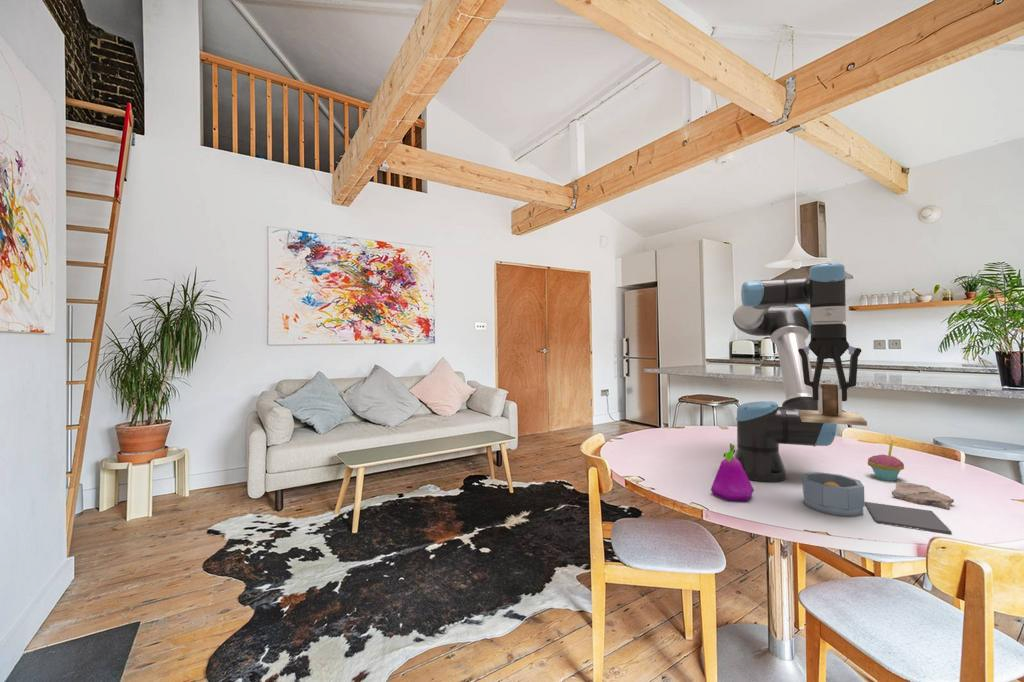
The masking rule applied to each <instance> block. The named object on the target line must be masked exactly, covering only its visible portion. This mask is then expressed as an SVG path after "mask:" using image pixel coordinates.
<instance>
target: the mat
mask: <svg viewBox="0 0 1024 682" xmlns="http://www.w3.org/2000/svg"><path fill="white" fill-rule="evenodd" d="M864 503H865V508H866V509H867V510H869V511H868V512H869V514H870V516H871V515H872V516H871V517H872V519H873V521H874V520H875V521H874V523H875V522H877V523H876V524H881V523H884V524H883V525H887V524H892V525H891V526H894V525H898V526H897V527H900V526H906V527H905V528H907V527H912V528H911V529H913V528H919V529H918V530H920V529H924V530H923V531H926V530H929V531H928V532H934V533H939V534H946V535H952V534H953V533H952V531H951V530H950V528H949V527H947V525H946V524H945V523H944V522H943V521H942V519H940V518H939V517H938V516H937V515H936V514H935V513H934V511H932V510H928V509H921V508H920V509H919V508H914V507H913V508H912V507H907V506H899V505H891V504H884V503H877V502H869V501H864Z"/></svg>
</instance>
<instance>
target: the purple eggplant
mask: <svg viewBox="0 0 1024 682" xmlns="http://www.w3.org/2000/svg"><path fill="white" fill-rule="evenodd" d="M735 447H736V446H735V445H734V444H732V443H729V451H728V452H725V453H724V454H723V458H724V459H722V460H721V462H720V464H719V467H718V470H717V471H716V472H717V473H716V475H715V477H714V480H713V483H712V485H711V488H710V490H711V492H712V494H713V495H714V496H716V497H718V498H721V499H723V500H725V501H728V502H748V501H749V499H750V498H751V497H752V495H753V493H754V491H755V489H754V487H753V485H752V483H751V480H749V479H748V477H747V475H746V473H745V471H744V469H743V467H742V465H741V463H740V461H739V460H738V459H736V458H735V454H736V449H735Z"/></svg>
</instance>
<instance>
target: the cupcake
mask: <svg viewBox="0 0 1024 682" xmlns="http://www.w3.org/2000/svg"><path fill="white" fill-rule="evenodd" d="M893 441H894V439H891V441H890V442H889V445H888V446H889V448H888V449H889V450H888V454H887V455H886V454H878V455H872V456H871V457H868V459H867V466H869V467H871V469H872V472H873V473H874V475H875V478H877V479H879V480H884V481H891V482H893V481H894V482H895V481H896V480H897V478H898V476H899V474H900V472H901V471H902V470H904V469H905V465H904V462H903V461H901V460H900V459H899V458H897V457H895V456H893V455H892V452H893V445H894V444H893V443H894V442H893Z"/></svg>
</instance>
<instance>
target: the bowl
mask: <svg viewBox="0 0 1024 682" xmlns="http://www.w3.org/2000/svg"><path fill="white" fill-rule="evenodd" d="M801 476H802V477H801V478H802V479H801V481H802V483H801V484H802V495H803V496H802V499H803V504H804V505H805V506H806V507H807V508H809V509H811V510H813V511H817V512H819V513H822V514H827V515H831V516H838V517H847V518H849V517H850V518H851V517H859V516H861V515H863V514H864V508H866V505H865V485H864V484H863V482H862V481H861V480H860V479H856V478H853V477H850V476H846V475H843V474H840V473H828V472H820V471H814V472H807V473H805V472H804V473H802V474H801ZM826 482H834V483H836V484H838V485H839V486H832V485H824V483H826Z"/></svg>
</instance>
